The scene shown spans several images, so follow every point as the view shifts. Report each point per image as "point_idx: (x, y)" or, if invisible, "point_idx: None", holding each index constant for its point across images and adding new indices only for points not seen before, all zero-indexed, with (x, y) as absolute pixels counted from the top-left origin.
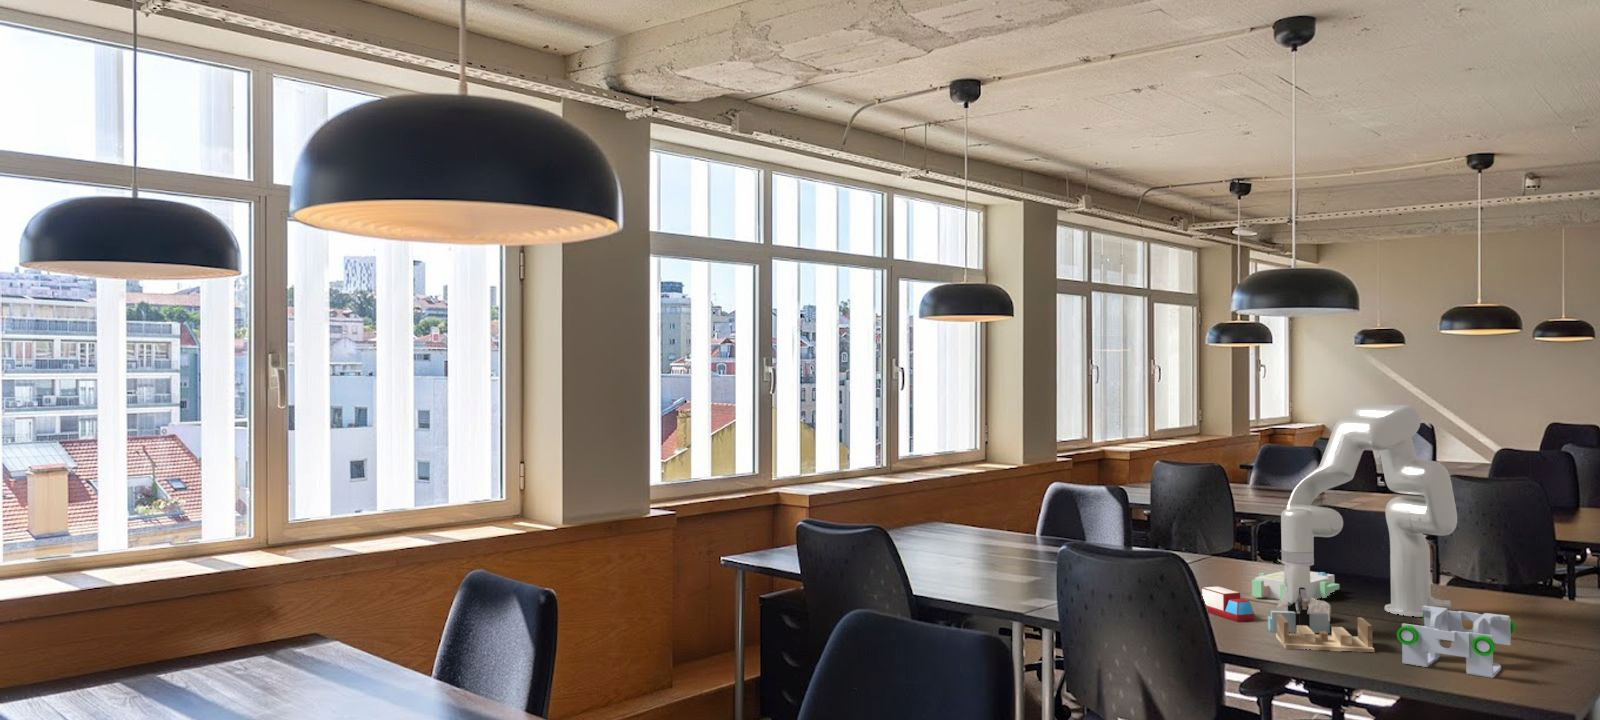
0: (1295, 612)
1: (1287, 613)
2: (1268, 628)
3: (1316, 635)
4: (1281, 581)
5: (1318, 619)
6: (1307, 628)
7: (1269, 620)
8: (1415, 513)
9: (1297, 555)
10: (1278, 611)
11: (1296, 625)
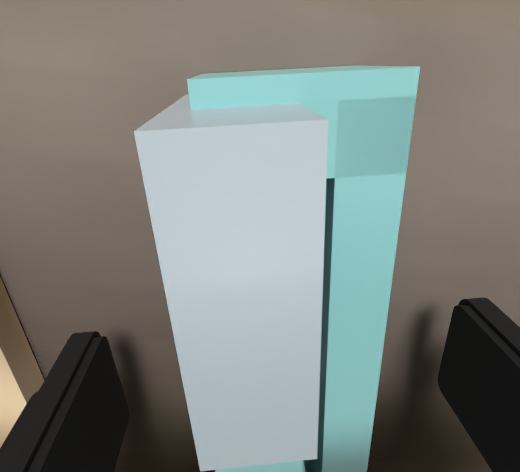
0: (498, 418)
1: (187, 379)
2: (320, 67)
3: (8, 430)
4: None
5: None
6: None
7: (257, 74)
8: None
9: None
10: (261, 269)
11: (59, 361)
